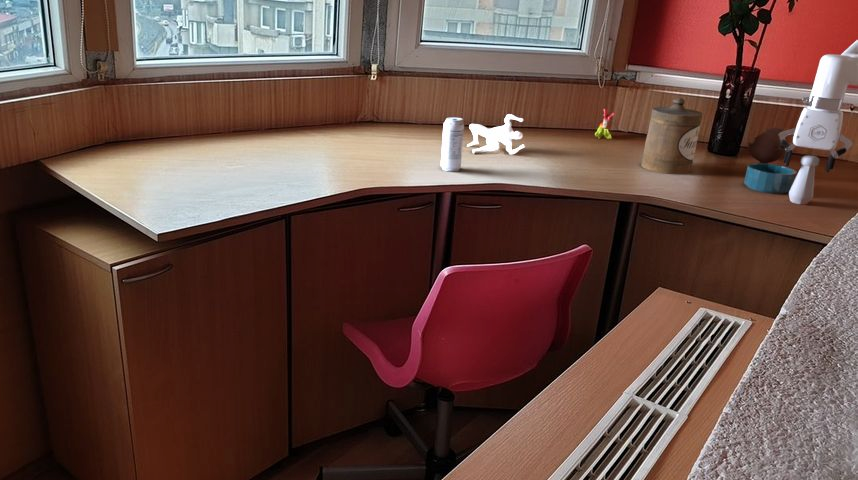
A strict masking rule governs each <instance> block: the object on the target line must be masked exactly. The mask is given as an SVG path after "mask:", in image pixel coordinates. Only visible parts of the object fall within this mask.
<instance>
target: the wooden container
mask: <svg viewBox="0 0 858 480" xmlns="http://www.w3.org/2000/svg"><path fill="white" fill-rule="evenodd" d="M685 101H686V100H685V99H684V98H682V97H676V98H674V99H673V100H672V103H673V104H672V105H671V106H655V107H653V108H652V110H651V114H650V115H651V116H650V120H649V125H648V130H647V133H646V139H645V142H644V148H643V149H644V150H643V154H642V159H641V164H640V165H641V167H642V168H644V169H645V170H647V171H652V172H656V173H659V174H667V175H668V174H669V175H687V174H690V173H691V171H692V167H693V162H694V158H695V155H696V154H695V153H696V149H697V144H698V139H699V132H700V127H701V123H702V119H703V112H702V111H699V110H695V109H690V108H686V107H685V105H684V104H685Z"/></svg>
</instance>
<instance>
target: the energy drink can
mask: <svg viewBox="0 0 858 480" xmlns="http://www.w3.org/2000/svg"><path fill="white" fill-rule="evenodd" d="M463 121H464V119H463V118H461V117H455V116H454V117H453V116H451V117H449V116H448V117H446V118H445V121H444V122H443V128H442V143H441V156H440V167H441V169H442V170H443V171H445V172H458V171H460V168H461V167H462V157H463V147H464V146H463V145H464V144H463V143H464V132H465V124H464V122H463Z"/></svg>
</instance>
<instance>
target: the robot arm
mask: <svg viewBox="0 0 858 480" xmlns="http://www.w3.org/2000/svg"><path fill="white" fill-rule="evenodd" d="M813 81H814V82H813V86H812V89H811V92H810V95H809V96H806V97H805V96H804V97H803V98H802V104H803V103H804V104H806V105H807V106H804V107H803V109H802V111H801V113H800V116H799V119H798V120H797V124H796V126H795V127H793V128H791V129H787V130H784V131H783V132H780V133H779V138H780V141H781V144H782V146H783V147H784V148H785V150H786V152H785V154H784V158H783V161H782V162H783V164H784V163H785V164H784V167H788V168H789V166H790V162H791V159H792V156H793V150H794V149H795V148H796V147H800V148H807V149H814V150H822V151H829V153H830V155H829V156H828V159H827V162H826V166H825V169H824V170H825V172H826V173H827V174H828V173H830V170H833V169H834V166H835V163H836V160H837V159H838V158H839V157H840V156H842V155H843V154H845V153H847V152H848V151H849V149H850V148H851V147H852V146H854V143H853V142H852V140H851V139H848V138H847V137H845V136H844V135H843V134H841V130H842V127H843V121H844V120H843V119H844V112H843V111H842V110H841V109H842V105H843V102H844V99H845V95H846V92H847V88H848V87H849V86H857V87H858V39H856V40H855V41H854V42H853V43H852V44H851V45H849V46H848V47H847V48H846V49H845V50H844V51H843V52H842V53H841V54H833V53H828V54H824V55H822V57H821V58H820V59H819V63H818V66H817V71H816V74H815V78H814V80H813ZM792 135H793V136H792ZM788 136H792V142H790V143H788V141H787V139H785V137H786V138H787V137H788ZM839 141H840V143H841V142H842V144H844V145H843V146H842V147H841V148H839V149H837V150H836V148H837V146H838V143H839Z"/></svg>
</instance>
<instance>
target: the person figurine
mask: <svg viewBox="0 0 858 480" xmlns="http://www.w3.org/2000/svg"><path fill="white" fill-rule="evenodd" d="M511 120H515V121H518V122H520V123H523V122H524V118H523V117H518V116H516V115H514V114H511V113H508V114H506V116H505V118H504V119H503V122H504V123H505V124H504V125H501V126H494V127H492V128H488V127H486V126H485V125H482V124H479V123H471V124H469V127H468V128H469V130H470V131H471V133H472V136H473V141H472V142H470V143H468V144H467V145H466V147H472V146H477V145H479V144H480V143H479V136H481V137H484V138H485V142H486V145H484V146H481V147H479V148H478V147H477V148H473V149H472V154H475V153H479V152H486V153H489V152H495V151H498V150H500V143H502V144H503V145H504V146H505V150H506V152H507V153H508V154H509V155H513V156H514V155H515V154H517V153H518V152H519V151H521V150H522V149H525V148H526V145H525V144H521V145H519V147H517V148H514V149H513V141H512V140H516V141H517V140H522V138H523V137H524V135H523V133H522V132H521V131H519V130H515V131H514V129H513V127H512V124H513V123H512V122H511Z"/></svg>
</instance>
